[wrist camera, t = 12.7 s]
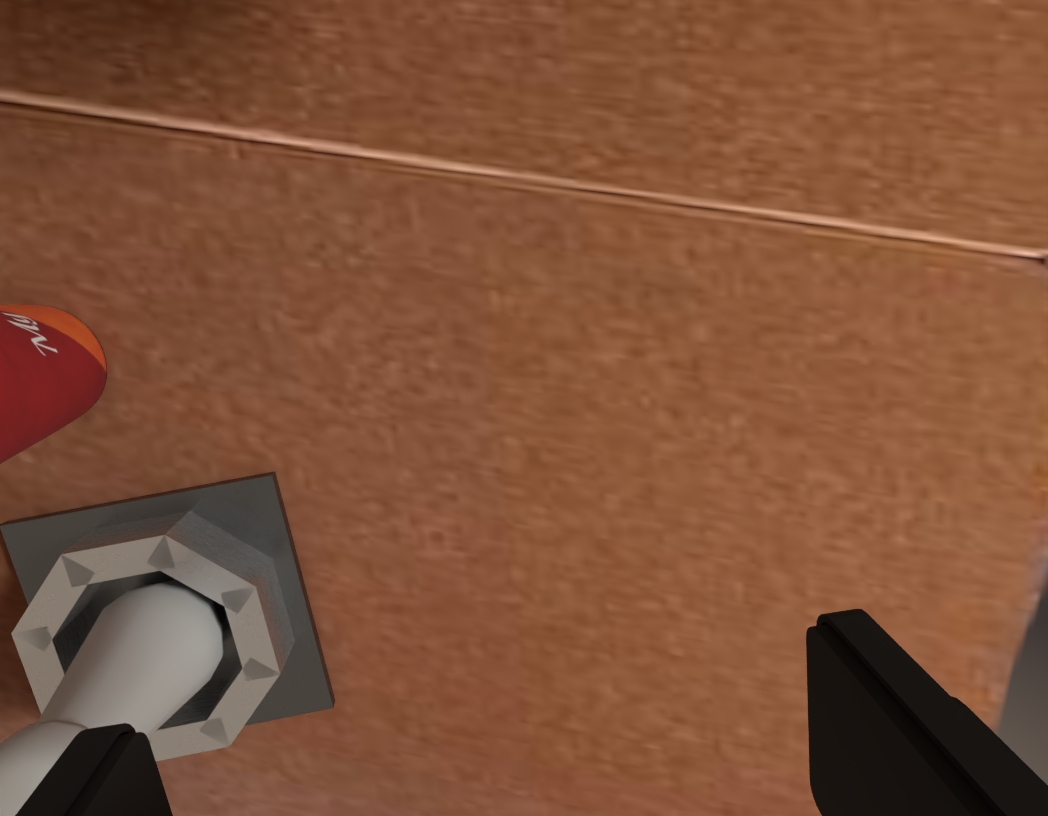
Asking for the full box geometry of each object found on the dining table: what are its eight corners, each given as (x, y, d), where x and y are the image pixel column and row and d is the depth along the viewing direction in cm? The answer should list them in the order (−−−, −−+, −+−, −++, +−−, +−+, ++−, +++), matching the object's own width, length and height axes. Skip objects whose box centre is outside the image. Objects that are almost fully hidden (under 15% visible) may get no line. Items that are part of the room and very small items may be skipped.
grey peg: (238, 671, 37) (121, 892, 24) (121, 670, 36) (-61, 896, 24) (235, 565, 36) (109, 739, 23) (114, 563, 35) (-83, 740, 22)
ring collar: (7, 521, 35) (-45, 551, 31) (274, 471, 35) (254, 496, 32) (89, 750, 38) (50, 801, 34) (335, 700, 38) (322, 746, 35)
